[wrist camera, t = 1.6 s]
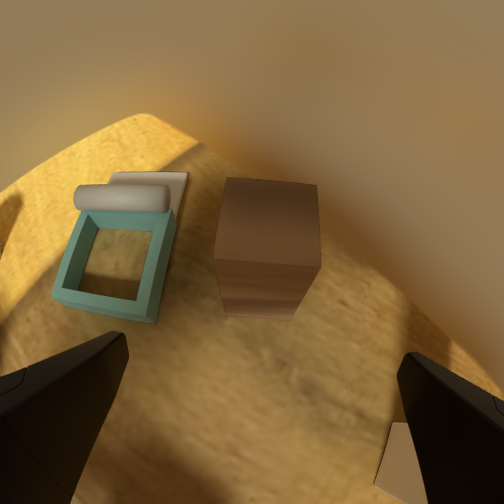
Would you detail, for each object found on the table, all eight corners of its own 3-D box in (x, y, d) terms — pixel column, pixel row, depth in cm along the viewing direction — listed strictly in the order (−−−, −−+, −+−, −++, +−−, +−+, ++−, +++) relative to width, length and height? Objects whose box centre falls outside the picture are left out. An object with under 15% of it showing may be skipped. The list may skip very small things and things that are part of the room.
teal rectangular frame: (155, 324, 21) (134, 306, 17) (65, 306, 21) (34, 286, 17) (190, 176, 28) (183, 141, 24) (112, 176, 28) (98, 145, 24)
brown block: (289, 320, 21) (321, 267, 13) (225, 315, 22) (212, 258, 13) (291, 262, 24) (316, 183, 15) (232, 257, 24) (226, 175, 15)
